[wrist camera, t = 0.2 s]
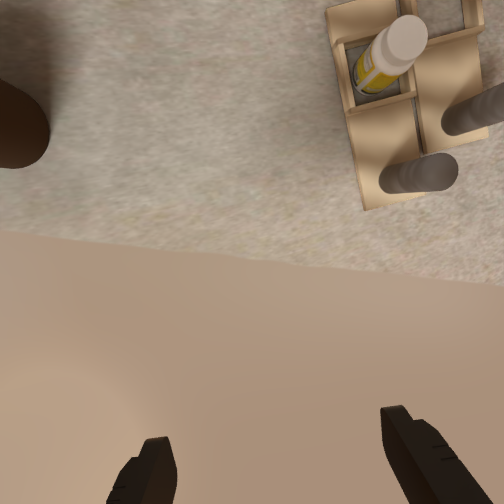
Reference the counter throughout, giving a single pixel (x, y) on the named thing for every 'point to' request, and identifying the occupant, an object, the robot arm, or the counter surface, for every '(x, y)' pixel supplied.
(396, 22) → the supplement bottle
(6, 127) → the olive oil
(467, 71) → the empty strip
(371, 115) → the wooden rack with post
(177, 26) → the counter surface
